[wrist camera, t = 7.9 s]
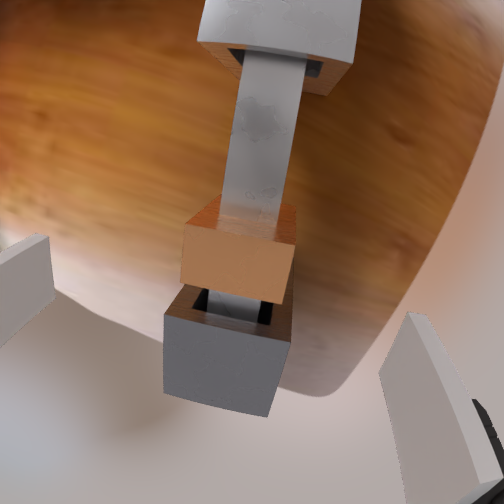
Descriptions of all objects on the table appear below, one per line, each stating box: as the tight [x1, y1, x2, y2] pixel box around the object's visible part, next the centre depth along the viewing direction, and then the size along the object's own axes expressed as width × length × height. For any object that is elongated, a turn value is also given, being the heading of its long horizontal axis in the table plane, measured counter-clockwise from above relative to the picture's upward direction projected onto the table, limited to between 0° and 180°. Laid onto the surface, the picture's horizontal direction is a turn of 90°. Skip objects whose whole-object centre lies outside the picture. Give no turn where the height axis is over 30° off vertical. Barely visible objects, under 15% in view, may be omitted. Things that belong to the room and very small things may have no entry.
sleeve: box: [197, 0, 361, 96], centre depth 16 cm, size 9×7×12 cm
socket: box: [163, 257, 294, 417], centre depth 24 cm, size 6×7×12 cm
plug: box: [180, 50, 307, 323], centre depth 17 cm, size 18×5×8 cm, turn 171°
